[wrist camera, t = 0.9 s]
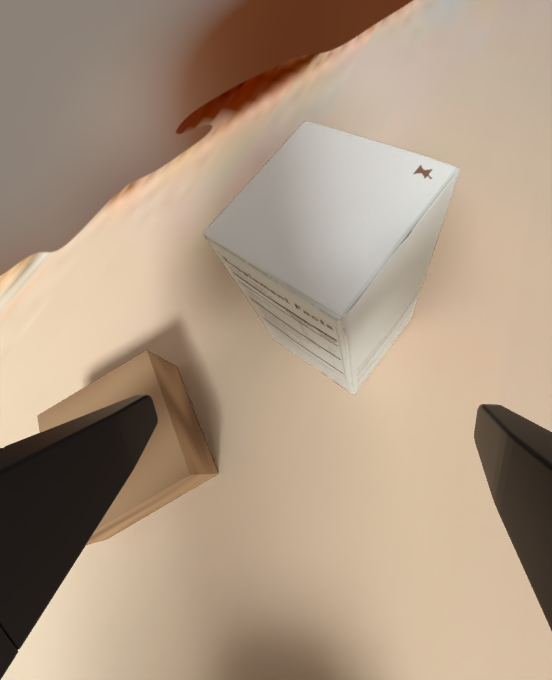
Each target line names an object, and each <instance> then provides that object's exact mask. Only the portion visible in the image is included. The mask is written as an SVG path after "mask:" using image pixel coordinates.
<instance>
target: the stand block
mask: <svg viewBox="0 0 552 680" xmlns="http://www.w3.org/2000/svg"><path fill="white" fill-rule="evenodd" d="M138 394H141V395H150V396H151V397H152V399H153V402H154V406H155V409H156V413H157V416H158V423H157V426H156V428H155V430H154V432H153V434H152V436H151V438H150V440H149V441H148V443H147V445H146V447H145V449H144V451H143V453H142V455H141V457H140V459H139V461H138V463H137V465H136V466H135V468H134V470H133V472H132V473H131V475H130V476H129V478H128V480H127V481H126V483H125V484H124V486H123V487H122V489H121V491H120V492H119V494H118V495H117V497H116V498H115V500H114V502H113V503H112V505H111V506H110V508H109V510H108V511H107V513H106V514H105V516H104V517H103V519H102V521H101V522H100V524H99V525H98V527H97V528H96V530H95V532H94V533H93V535H92V536H91V538H90V539H89V541H88V543H87V544H86V545H88V544H92V543H95V542H99V541H103V540H106V539H108V538H110V537H112V536H113V535H115V534H117V533H118V532H120V531H122V530H123V529H125V528H127V527H129V526H130V525H132V524H134V523H135V522H137V521H139V520H140V519H142V518H144V517H146V516H147V515H149V514H151V513H152V512H154V511H156V510H157V509H159V508H161V507H163V506H164V505H166V504H168V503H169V502H171V501H173V500H174V499H176V498H178V497H180V496H181V495H183V494H185V493H186V492H188V491H190V490H191V489H193V488H195V487H197V486H198V485H200V484H202V483H203V482H205V481H207V480H208V479H210V478H212V477H213V476H215V475H217V474H218V471H217V469H216V466H215V464H214V461H213V459H212V456H211V453H210V451H209V448H208V446H207V443H206V441H205V438H204V435H203V433H202V430H201V428H200V425H199V423H198V420H197V417H196V415H195V412H194V410H193V407H192V405H191V402H190V399H189V397H188V394H187V392H186V389H185V386H184V384H183V381H182V379H181V376H180V374H179V371H178V368H177V366H175V365H173V364H171V363H169V362H168V361H166V360H164V359H162V358H160V357H159V356H157V355H155V354H153V353H151V352H150V351H148V350H146V351H144V352H143V353H141V354H139V355H138V356H136V357H134V358H133V359H131V360H129V361H128V362H126V363H124V364H123V365H121V366H119V367H118V368H116V369H114V370H113V371H111V372H109V373H108V374H106V375H104V376H103V377H101V378H99V379H98V380H96V381H94V382H93V383H91V384H89V385H88V386H86V387H84V388H83V389H81V390H79V391H78V392H76V393H74V394H73V395H71V396H69V397H68V398H66V399H64V400H63V401H61V402H59V403H58V404H56V405H54V406H53V407H51V408H49V409H48V410H46V411H44V412H43V413H41V414H39V415H38V423H39V430H40V433H41V432H43V431H46V430H48V429H51V428H53V427H56V426H58V425H61V424H63V423H66V422H68V421H71V420H73V419H76V418H79V417H81V416H84V415H86V414H89V413H91V412H94V411H96V410H99V409H101V408H104V407H106V406H109V405H111V404H114V403H117V402H119V401H122V400H124V399H127V398H129V397H132V396H134V395H138Z"/></svg>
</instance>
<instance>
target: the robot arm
mask: <svg viewBox="0 0 552 680" xmlns="http://www.w3.org/2000/svg"><path fill="white" fill-rule="evenodd" d="M157 423H158V416H157V413H156V409H155V406H154V402H153V399H152V397H151V396H150V395H141V394H138V395H134V396H132V397H129V398H127V399H124V400H122V401H119V402H117V403H114V404H111V405H109V406H106V407H104V408H101V409H99V410H96V411H94V412H91V413H89V414H86V415H84V416H81V417H79V418H76V419H73V420H71V421H68V422H66V423H63V424H61V425H58V426H56V427H53V428H51V429H48V430H46V431H43V432H41V433H38V434H35V435H33V436H30V437H28V438H25V439H23V440H20V441H18V442H15V443H13V444H10V445H8V446H5V447H4V448H0V680H1V678H2V677H3V675H4V674H5V672H6V670H7V669H8V667H9V666H10V664H11V663H12V661H13V659H14V658H15V656H16V655H17V653H18V649H20V648H21V646H22V645H23V643H24V642H25V640H26V638H27V637H28V635H29V634H30V632H31V631H32V629H33V627H34V626H35V624H36V623H37V621H38V620H39V618H40V616H41V615H42V613H43V612H44V610H45V609H46V607H47V605H48V604H49V602H50V601H51V599H52V598H53V596H54V594H55V593H56V591H57V590H58V588H59V587H60V585H61V583H62V582H63V580H64V579H65V577H66V576H67V574H68V572H69V571H70V569H71V568H72V566H73V565H74V563H75V561H76V560H77V558H78V557H79V555H80V554H81V552H82V550H83V549H84V547H85V546H86V544H87V543H88V541H89V539H90V538H91V536H92V535H93V533H94V532H95V530H96V528H97V527H98V525H99V524H100V522H101V521H102V519H103V517H104V516H105V514H106V513H107V511H108V510H109V508H110V506H111V505H112V503H113V502H114V500H115V498H116V497H117V495H118V494H119V492H120V491H121V489H122V487H123V486H124V484H125V483H126V481H127V480H128V478H129V476H130V475H131V473H132V472H133V470H134V468H135V466H136V465H137V463H138V461H139V459H140V457H141V455H142V453H143V451H144V449H145V447H146V445H147V443H148V441H149V440H150V438H151V436H152V434H153V432H154V430H155V428H156V426H157ZM474 438H475V443H476V447H477V450H478V453H479V456H480V459H481V462H482V466H483V469H484V472H485V475H486V478H487V481H488V485H489V488H490V491H491V494H492V497H493V500H494V503H495V505H496V507H497V510H498V512H499V515H500V517H501V519H502V521H503V523H504V526H505V528H506V530H507V532H508V535H509V537H510V539H511V541H512V544H513V546H514V548H515V550H516V552H517V555H518V557H519V559H520V561H521V564H522V566H523V568H524V570H525V572H526V575H527V577H528V579H529V581H530V584H531V586H532V588H533V590H534V593H535V595H536V597H537V599H538V601H539V604H540V606H541V608H542V610H543V613H544V615H545V617H546V619H547V621H548V624H549V626H550V628H551V630H552V432H550V431H548V430H547V429H545V428H543V427H541V426H539V425H537V424H535V423H533V422H531V421H529V420H528V419H526V418H524V417H522V416H520V415H518V414H516V413H514V412H512V411H511V410H509V409H507V408H505V407H503V406H501V405H493V404H482V405H480V406H479V408H478V411H477V417H476V424H475V431H474Z"/></svg>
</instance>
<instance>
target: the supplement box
mask: <svg viewBox="0 0 552 680" xmlns="http://www.w3.org/2000/svg"><path fill="white" fill-rule="evenodd" d="M459 173H460V169H459V168H458V167H455V166H452V165H449V164H446V163H444V162H441V161H438V160H435V159H433V158H429V157H426V156H423V155H420V154H417V153H414V152H410V151H407V150H404V149H400V148H397V147H393V146H390V145H387V144H384V143H380V142H377V141H373V140H370V139H367V138H363V137H360V136H357V135H354V134H350V133H347V132H343V131H340V130H336V129H333V128H330V127H327V126H324V125H320V124H317V123H312V122H308V121H305V122H303V123H302V124H301V125H300V126H299V127H298V128H297V130H296V131H295V132H294V133H293V134H292V135H291V136H290V138H289V139H288V140H287V141H286V142H285V143H284V144H283V145H282V147H281V148H280V149H279V150H278V151H277V152H276V153H275V154H274V155H273V157H272V158H271V159H270V160H269V161H268V162H267V163H266V164H265V165H264V166H263V168H262V169H261V170H260V171H259V172H258V173H257V174H256V175H255V176H254V177H253V179H252V180H251V181H250V182H249V183H248V184H247V185H246V186H245V187H244V188H243V190H242V191H241V192H240V193H239V194H238V195H237V196H236V197H235V198H234V200H233V201H232V202H231V203H230V204H229V205H228V206H227V207H226V208H225V209H224V210H223V212H222V213H221V214H220V215H219V216H218V217H217V218H216V219H215V220H214V221H213V222H212V223H211V225H210V226H209V227H208V228H207V229H206V230H205V231H204V233H203V235H204V236H205V238H206V240H207V241H208V242H209V244H210V245H211V247H212V248H213V250H214V251H215V253H216V254H217V256H218V257H219V259H220V260H221V261H222V263H223V264H224V266H225V267H226V269H227V270H228V272H229V273H230V275H231V276H232V278H233V279H234V280H235V282H236V283H237V285H238V286H239V288H240V289H241V290H242V292H243V293H244V295H245V296H246V298H247V299H248V301H249V302H250V304H251V305H252V307H253V308H254V310H255V311H256V313H257V314H258V316H259V317H260V319H261V320H262V322H263V323H264V325H265V326H266V328H267V329H268V331H269V332H270V334H271V335H272V337H273V338H274V340H275V341H276V342H278V343H280V344H281V345H282V346H284V347H285V348H287V349H288V350H290V351H291V352H292V353H294V354H295V355H297V356H298V357H300V358H301V359H302V360H304V361H305V362H307V363H308V364H310V365H311V366H312V367H314V368H315V369H317V370H318V371H319V372H321V373H322V374H324V375H325V376H327V377H328V378H329V379H331V380H332V381H334V382H335V383H337V384H338V385H339V386H341V387H342V388H344V389H345V390H347V391H348V392H349V393H351V394H353V395H354V394H355V393H356V392H357V391H358V390H359V388H360V387H361V386H362V384H363V383H364V382H365V381H366V379H367V378H368V377H369V375H370V374H371V373H372V371H373V370H374V369H375V367H376V366H377V365H378V363H379V362H380V360H381V359H382V358H383V356H384V355H385V354H386V352H387V351H388V349H389V348H390V347H391V345H392V344H393V343H394V341H395V340H396V339H397V337H398V336H399V334H400V333H401V332H402V330H403V329H404V328H405V326H406V325H407V323H408V322H409V321H410V319H411V318H412V314H413V311H414V308H415V306H416V303H417V300H418V296H419V293H420V290H421V287H422V284H423V281H424V278H425V275H426V272H427V269H428V266H429V263H430V260H431V257H432V254H433V251H434V248H435V245H436V242H437V239H438V236H439V233H440V230H441V227H442V224H443V221H444V218H445V215H446V212H447V209H448V206H449V203H450V200H451V197H452V194H453V191H454V188H455V185H456V182H457V179H458V176H459Z"/></svg>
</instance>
